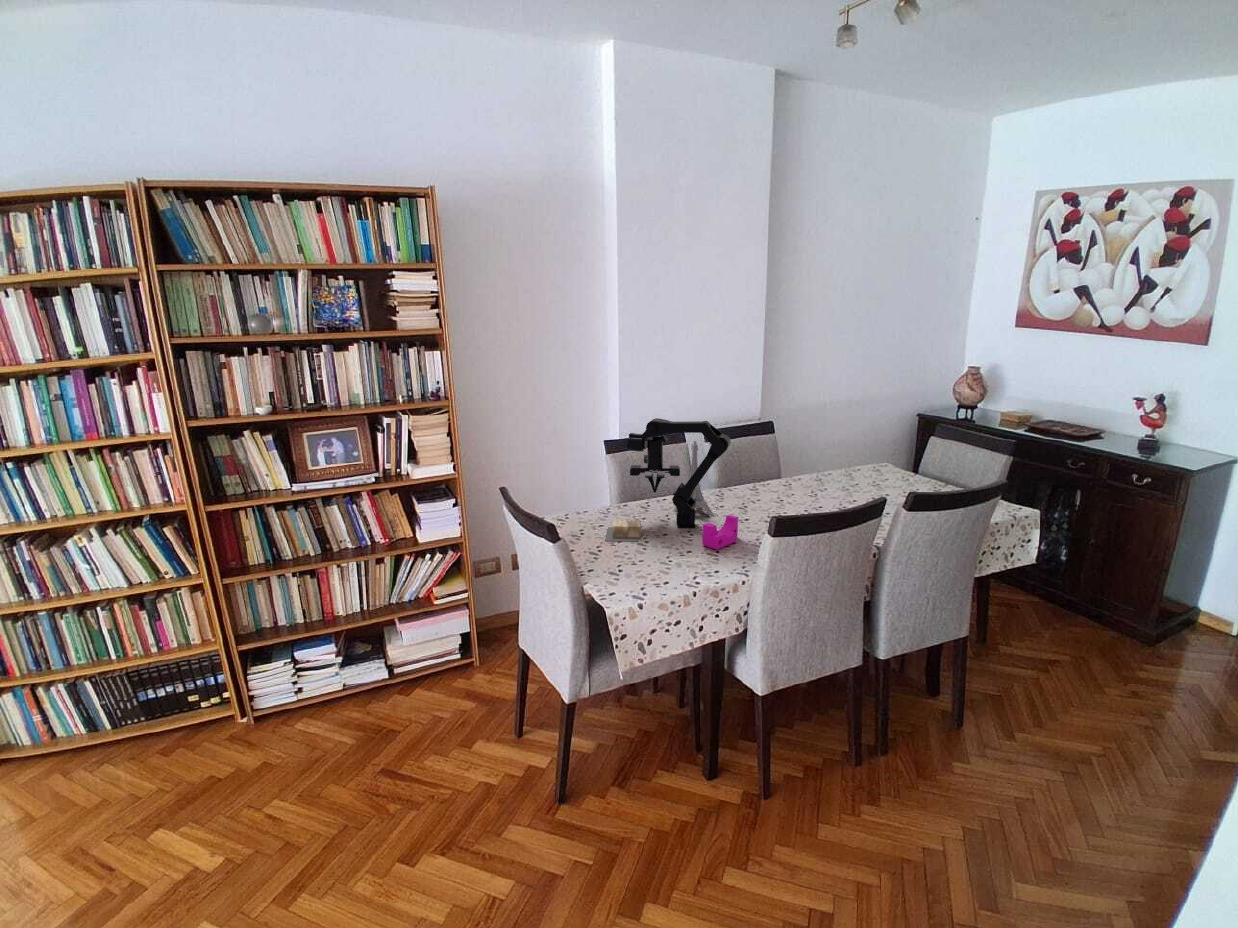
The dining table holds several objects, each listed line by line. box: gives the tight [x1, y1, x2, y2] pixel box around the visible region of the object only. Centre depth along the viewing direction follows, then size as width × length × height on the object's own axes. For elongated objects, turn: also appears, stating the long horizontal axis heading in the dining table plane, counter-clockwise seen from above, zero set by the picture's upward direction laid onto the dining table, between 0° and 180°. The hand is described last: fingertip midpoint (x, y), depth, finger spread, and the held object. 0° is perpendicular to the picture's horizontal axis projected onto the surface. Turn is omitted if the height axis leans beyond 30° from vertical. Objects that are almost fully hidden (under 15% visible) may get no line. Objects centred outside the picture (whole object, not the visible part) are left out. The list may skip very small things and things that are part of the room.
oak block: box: [612, 520, 642, 538], centre depth 233 cm, size 4×6×10 cm
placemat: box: [604, 526, 640, 543], centre depth 233 cm, size 12×14×1 cm
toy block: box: [702, 514, 739, 550], centre depth 225 cm, size 15×6×8 cm, turn 132°
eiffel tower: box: [672, 440, 717, 518], centre depth 251 cm, size 13×13×30 cm
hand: (654, 492), depth 243 cm, fingers closed
